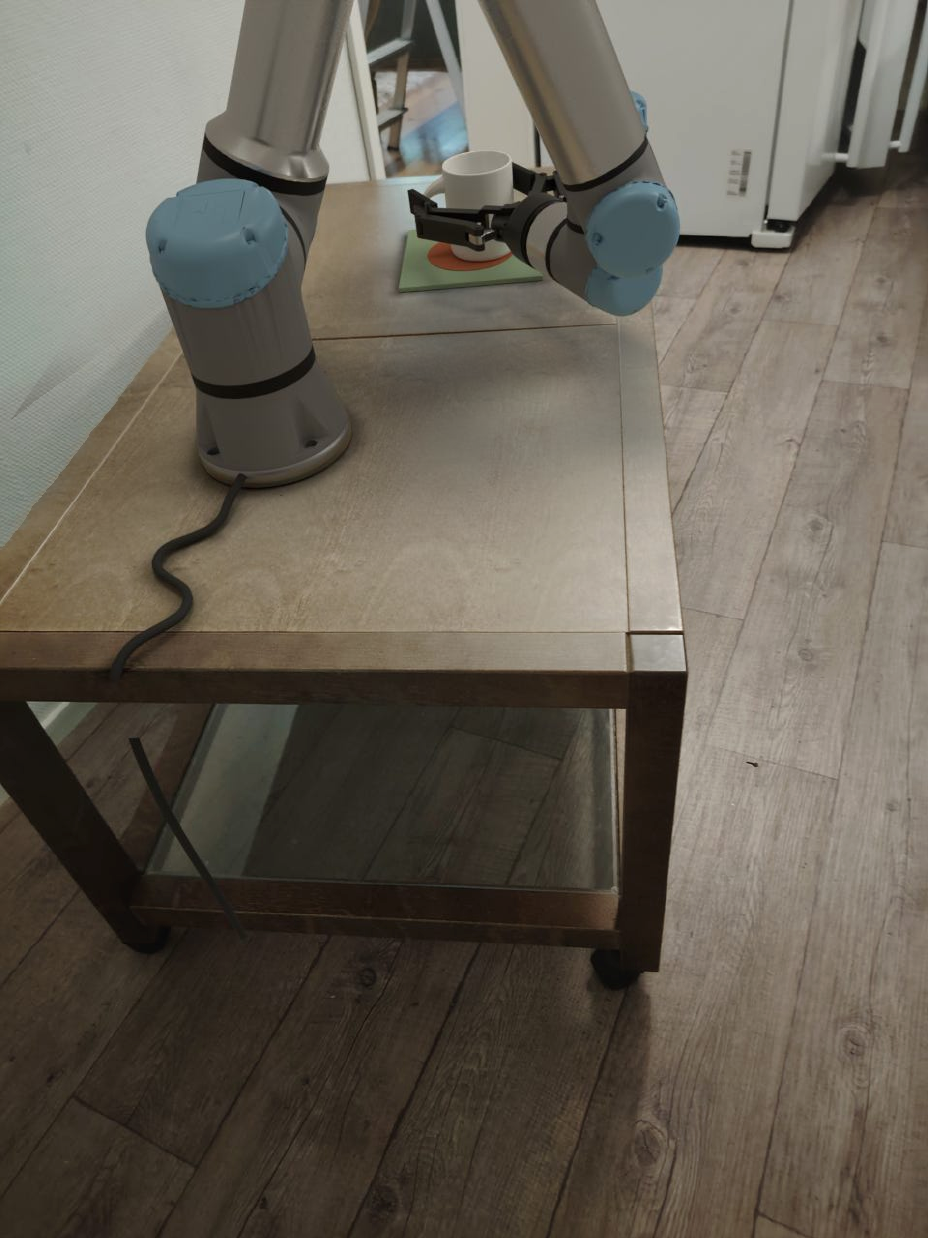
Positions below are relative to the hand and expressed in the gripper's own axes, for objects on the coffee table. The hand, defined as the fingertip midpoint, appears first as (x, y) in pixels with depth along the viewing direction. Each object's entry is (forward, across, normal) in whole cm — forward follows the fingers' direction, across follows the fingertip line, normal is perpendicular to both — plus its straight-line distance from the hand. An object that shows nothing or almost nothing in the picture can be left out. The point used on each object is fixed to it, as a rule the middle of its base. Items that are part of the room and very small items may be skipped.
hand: (459, 185), depth 112 cm
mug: (-1, 0, -8) cm, 8 cm away
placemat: (-1, 0, -9) cm, 9 cm away
